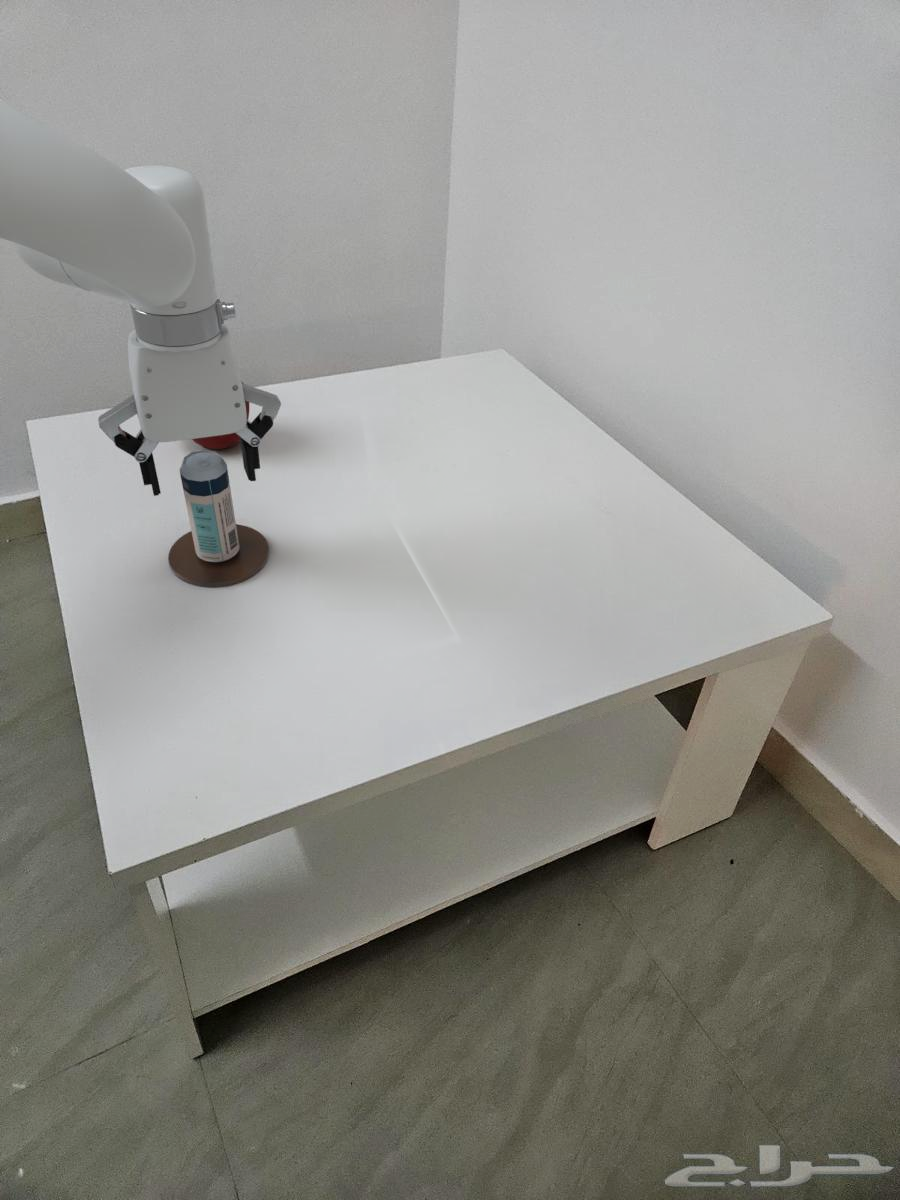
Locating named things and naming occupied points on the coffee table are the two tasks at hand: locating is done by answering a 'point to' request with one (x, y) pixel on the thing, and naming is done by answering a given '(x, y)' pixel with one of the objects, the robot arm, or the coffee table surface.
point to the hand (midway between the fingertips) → (203, 481)
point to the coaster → (224, 572)
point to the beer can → (209, 505)
